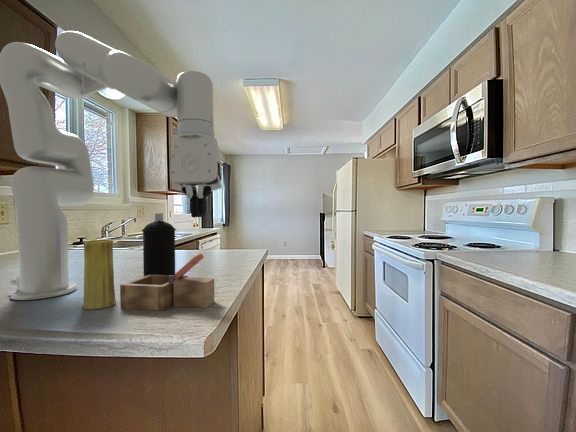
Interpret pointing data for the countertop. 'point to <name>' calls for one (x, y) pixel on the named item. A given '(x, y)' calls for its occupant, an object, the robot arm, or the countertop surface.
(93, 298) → the vase
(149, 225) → the aerosol can
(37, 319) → the countertop surface
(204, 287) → the block
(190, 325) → the countertop surface
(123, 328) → the countertop surface
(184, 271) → the keeper bar
